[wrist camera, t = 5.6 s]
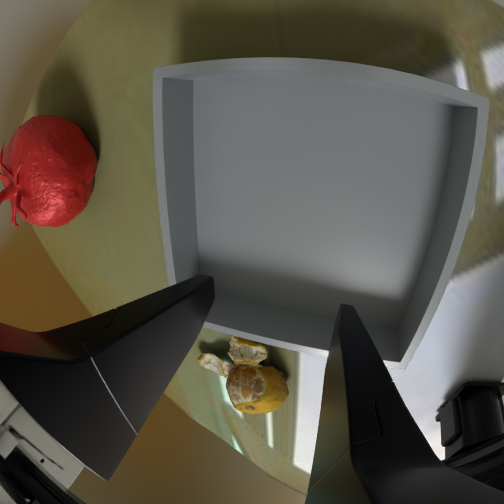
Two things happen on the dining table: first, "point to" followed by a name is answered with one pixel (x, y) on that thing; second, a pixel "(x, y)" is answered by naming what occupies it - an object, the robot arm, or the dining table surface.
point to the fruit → (249, 377)
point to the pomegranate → (47, 171)
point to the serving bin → (315, 194)
